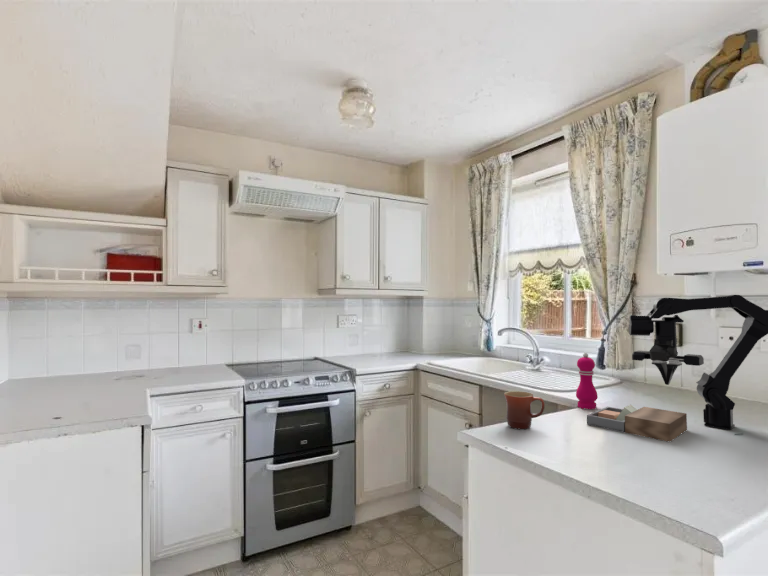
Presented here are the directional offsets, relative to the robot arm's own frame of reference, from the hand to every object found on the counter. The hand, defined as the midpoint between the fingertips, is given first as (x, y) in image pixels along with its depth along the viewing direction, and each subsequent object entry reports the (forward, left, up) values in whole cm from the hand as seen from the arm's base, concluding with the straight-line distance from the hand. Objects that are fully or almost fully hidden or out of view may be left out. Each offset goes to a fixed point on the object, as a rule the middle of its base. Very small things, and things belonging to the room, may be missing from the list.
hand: (667, 384), depth 138 cm
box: (+11, +14, -12) cm, 21 cm away
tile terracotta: (+13, +14, -9) cm, 21 cm away
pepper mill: (+26, 0, -12) cm, 29 cm away
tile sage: (+6, +14, -9) cm, 18 cm away
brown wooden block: (-1, +14, -12) cm, 18 cm away
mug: (+28, +39, -12) cm, 50 cm away
